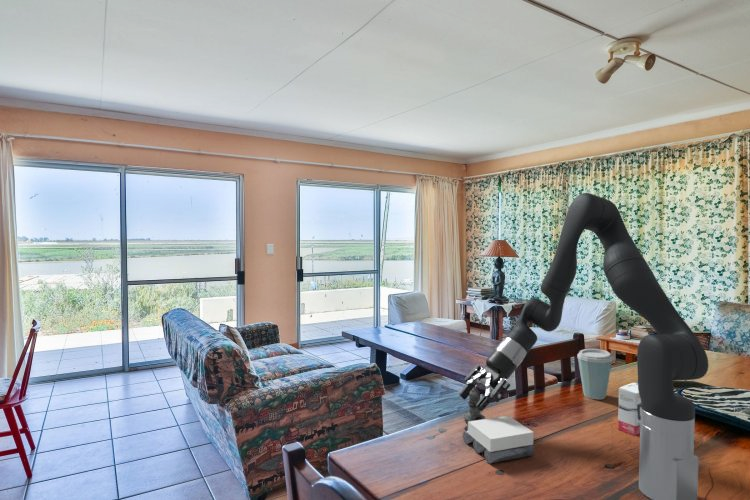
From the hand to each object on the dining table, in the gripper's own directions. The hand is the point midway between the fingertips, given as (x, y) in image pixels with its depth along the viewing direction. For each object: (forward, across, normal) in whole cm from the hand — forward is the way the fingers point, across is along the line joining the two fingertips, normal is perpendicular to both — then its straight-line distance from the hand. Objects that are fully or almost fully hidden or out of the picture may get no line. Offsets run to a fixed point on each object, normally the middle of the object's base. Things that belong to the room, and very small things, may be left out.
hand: (469, 403), depth 118 cm
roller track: (+4, +12, +6) cm, 14 cm away
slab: (+2, +12, +4) cm, 13 cm away
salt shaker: (+4, 0, +7) cm, 8 cm away
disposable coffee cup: (-32, -10, +43) cm, 55 cm away
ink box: (-26, +13, +37) cm, 47 cm away
